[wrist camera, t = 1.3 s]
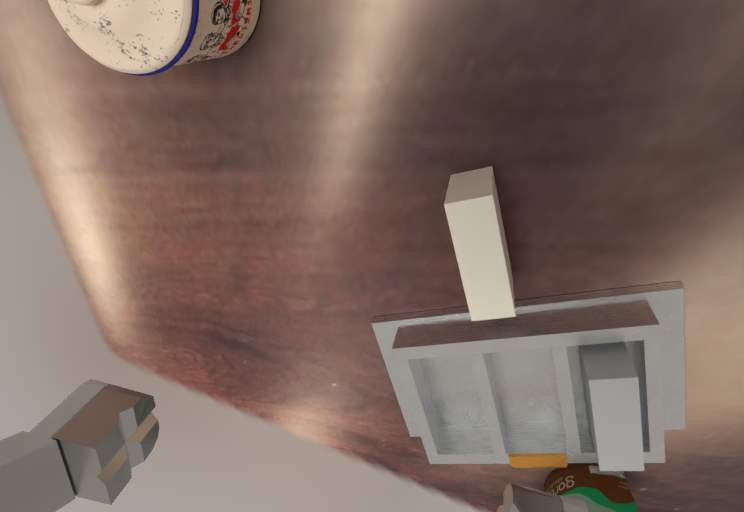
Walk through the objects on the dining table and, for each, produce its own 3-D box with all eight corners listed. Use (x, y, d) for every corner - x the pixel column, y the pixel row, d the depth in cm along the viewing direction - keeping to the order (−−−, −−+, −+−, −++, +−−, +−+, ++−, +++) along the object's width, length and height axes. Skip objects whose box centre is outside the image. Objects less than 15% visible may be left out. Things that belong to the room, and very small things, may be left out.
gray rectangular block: (616, 323, 35) (638, 377, 30) (624, 409, 39) (644, 470, 34) (574, 327, 36) (588, 380, 31) (585, 411, 40) (599, 471, 35)
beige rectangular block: (492, 165, 33) (492, 195, 28) (512, 273, 37) (515, 316, 31) (450, 174, 34) (443, 204, 29) (474, 278, 38) (471, 321, 32)
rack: (679, 281, 34) (705, 319, 30) (681, 425, 40) (703, 473, 36) (373, 316, 42) (360, 350, 37) (413, 432, 47) (406, 473, 43)
